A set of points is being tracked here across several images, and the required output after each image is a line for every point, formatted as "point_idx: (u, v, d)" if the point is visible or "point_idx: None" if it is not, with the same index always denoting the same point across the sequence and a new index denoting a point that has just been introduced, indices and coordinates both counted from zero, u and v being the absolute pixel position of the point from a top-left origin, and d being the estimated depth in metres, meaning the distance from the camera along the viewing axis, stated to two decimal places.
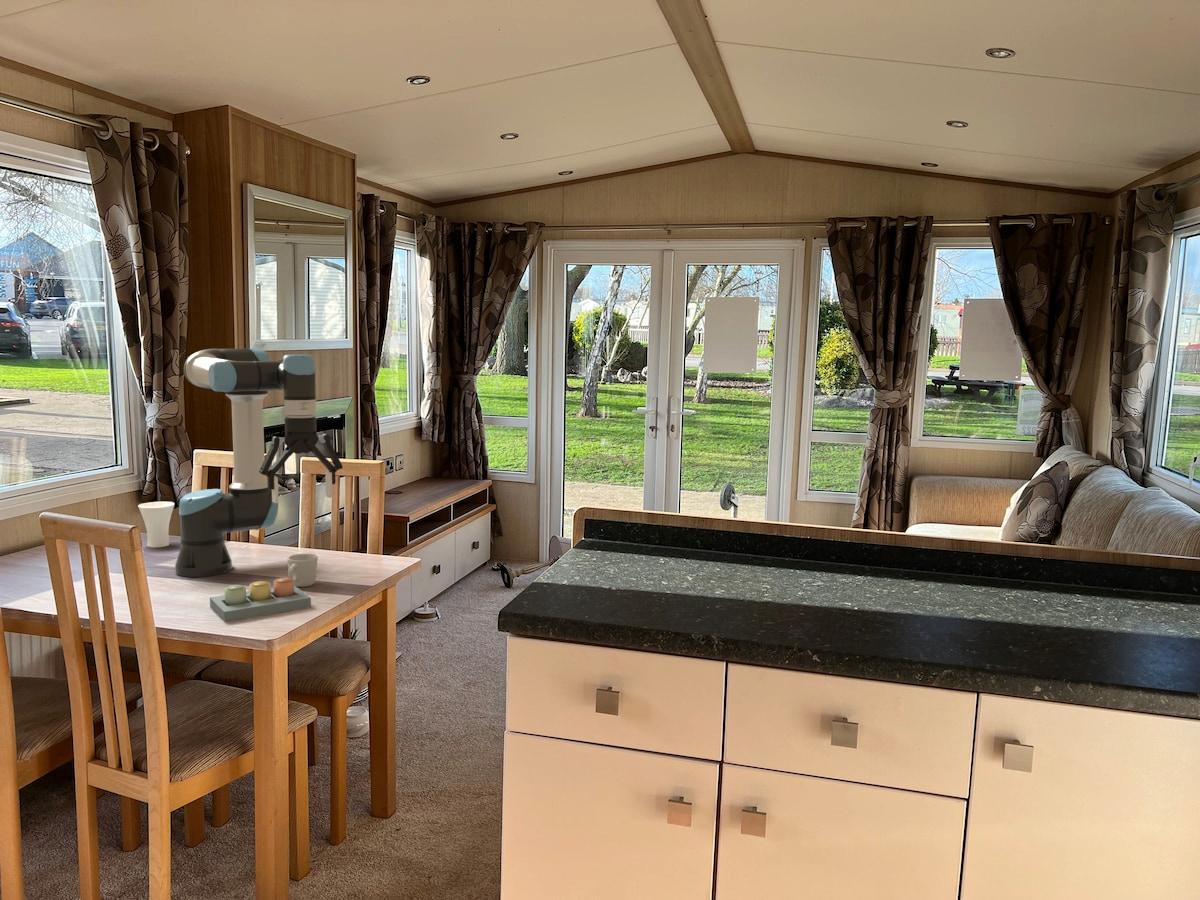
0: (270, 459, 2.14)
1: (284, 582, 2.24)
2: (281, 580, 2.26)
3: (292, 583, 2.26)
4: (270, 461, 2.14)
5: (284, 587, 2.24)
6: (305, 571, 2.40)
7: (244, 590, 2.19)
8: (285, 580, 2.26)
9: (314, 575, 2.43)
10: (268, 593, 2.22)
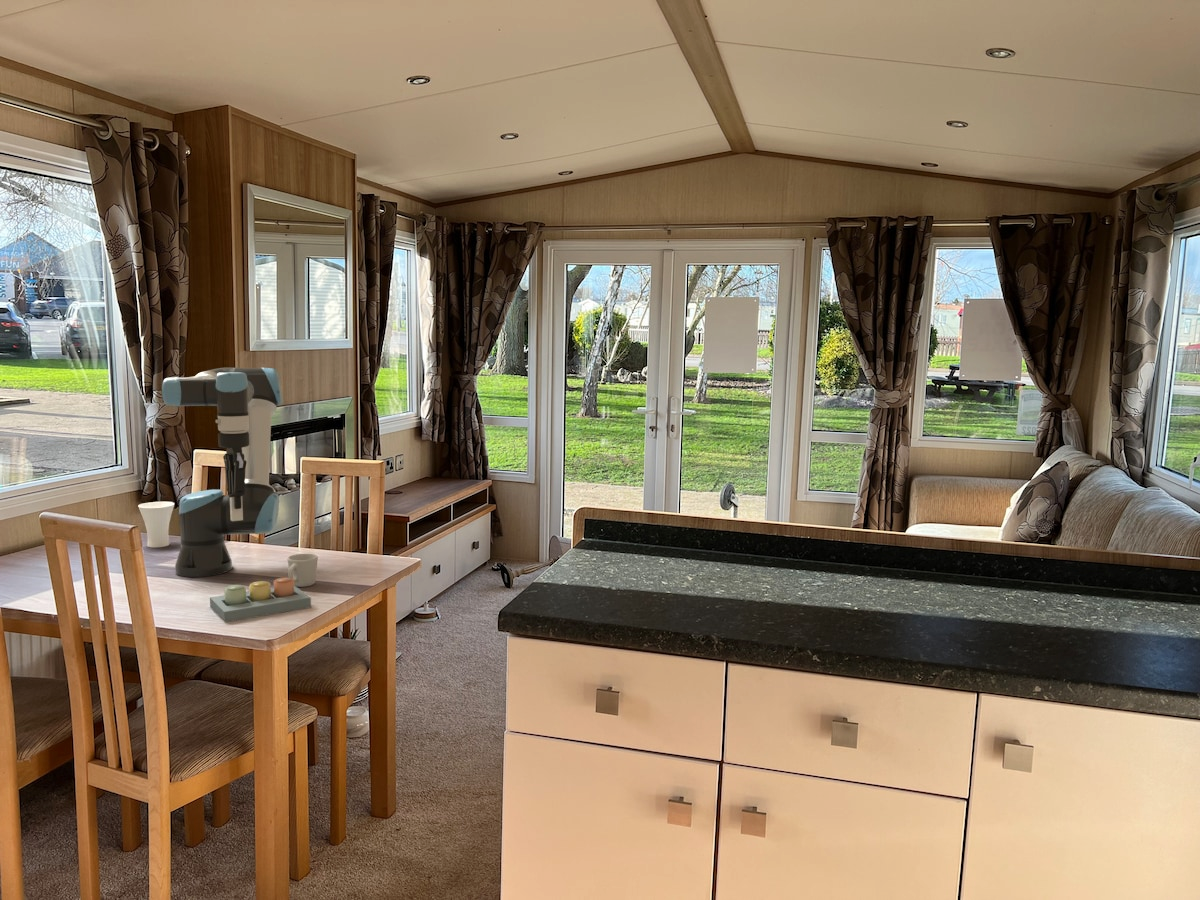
0: (226, 476, 2.32)
1: (284, 582, 2.24)
2: (281, 580, 2.26)
3: (292, 583, 2.26)
4: (226, 478, 2.32)
5: (284, 587, 2.24)
6: (305, 571, 2.40)
7: (244, 590, 2.19)
8: (285, 580, 2.26)
9: (314, 575, 2.43)
10: (268, 593, 2.22)
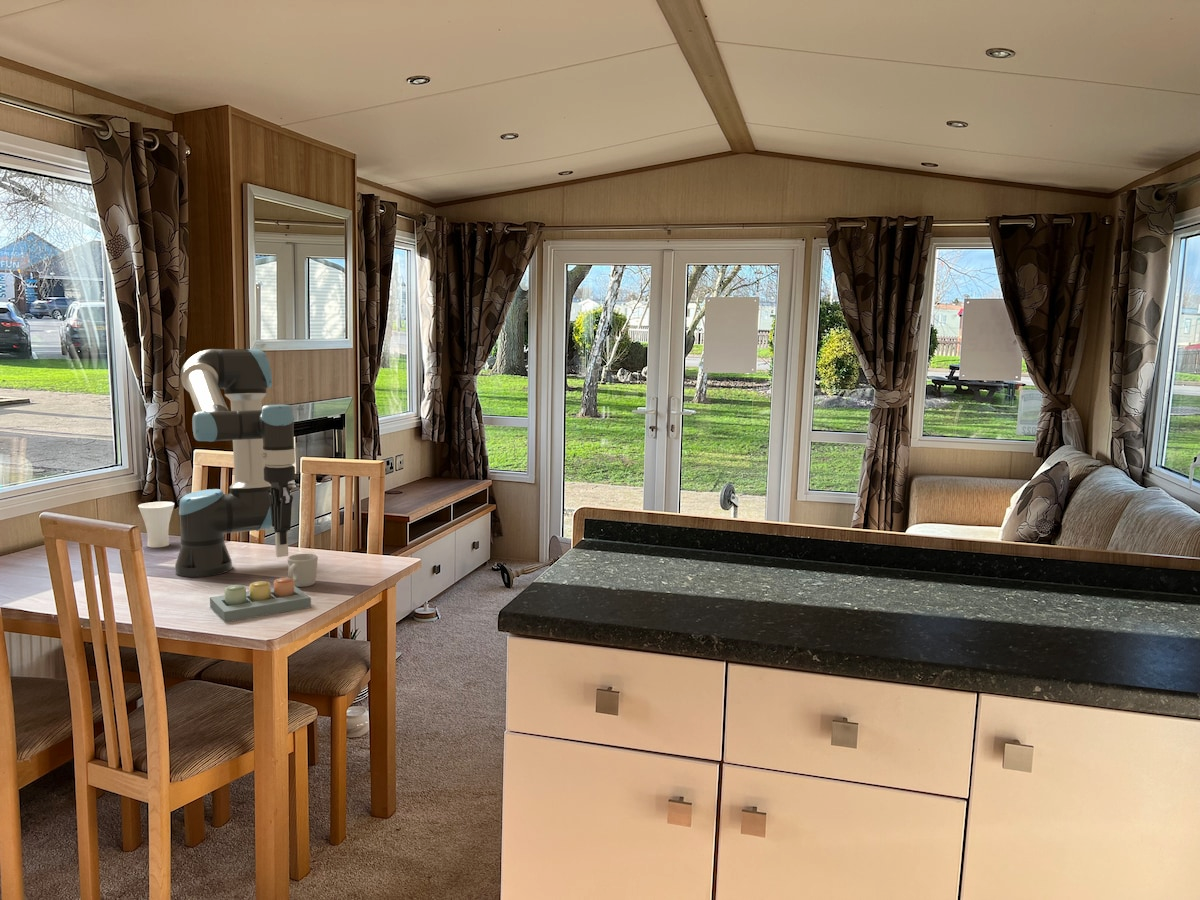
0: (271, 511, 2.26)
1: (284, 582, 2.24)
2: (281, 580, 2.26)
3: (292, 583, 2.26)
4: (271, 512, 2.26)
5: (284, 587, 2.24)
6: (305, 571, 2.40)
7: (244, 590, 2.19)
8: (285, 580, 2.26)
9: (314, 575, 2.43)
10: (268, 593, 2.22)
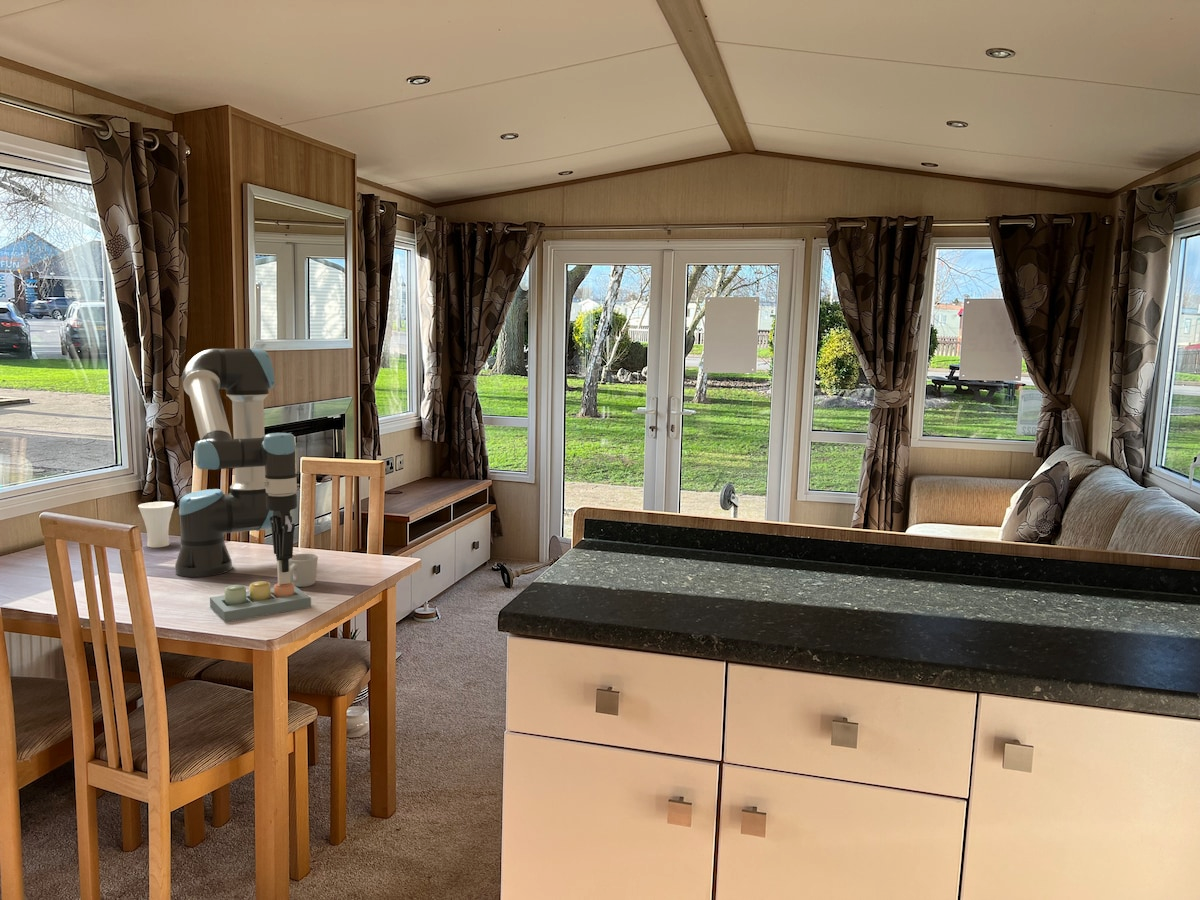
0: (273, 538, 2.27)
1: (284, 586, 2.25)
2: (281, 584, 2.26)
3: (292, 587, 2.26)
4: (273, 540, 2.27)
5: (284, 592, 2.24)
6: (305, 571, 2.40)
7: (244, 590, 2.19)
8: (285, 584, 2.26)
9: (314, 575, 2.43)
10: (268, 593, 2.22)
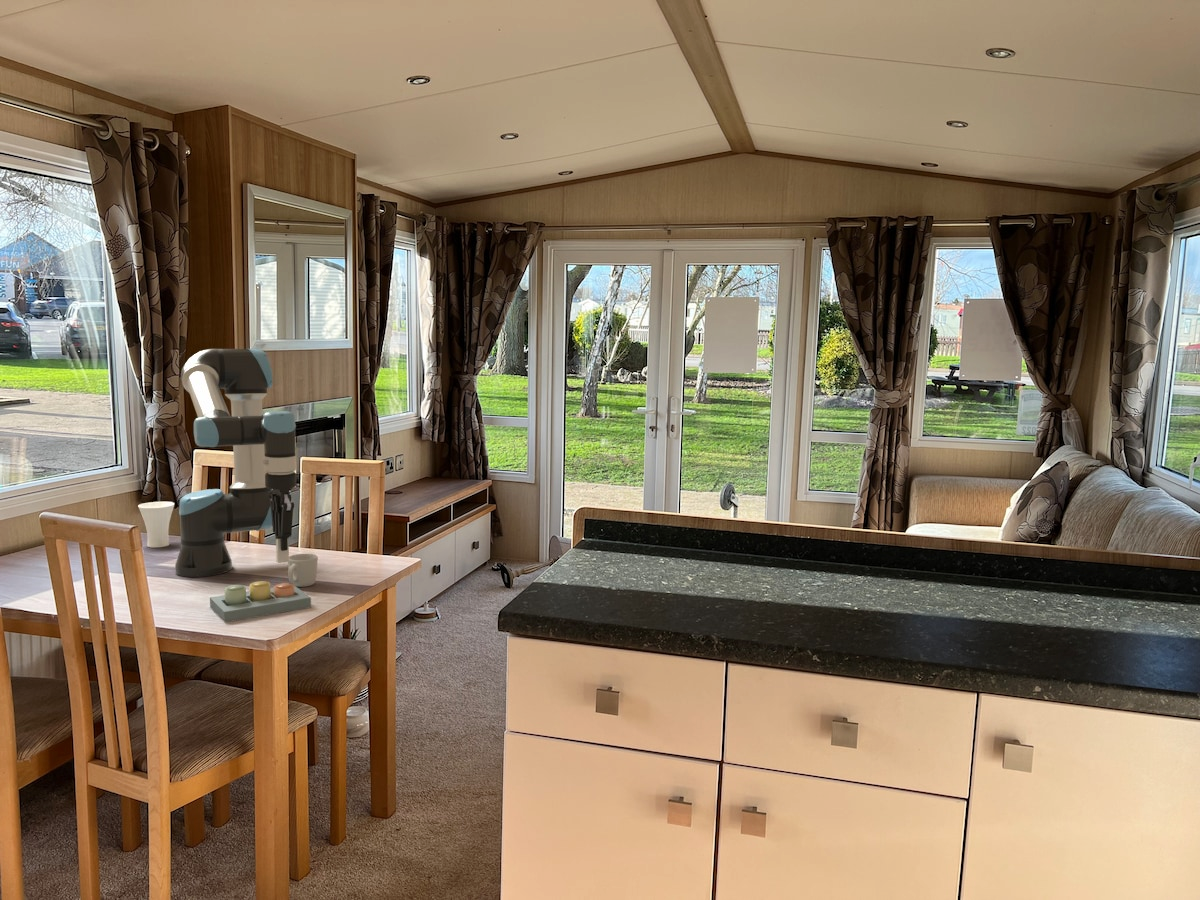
0: (272, 516, 2.27)
1: (284, 588, 2.25)
2: (281, 586, 2.26)
3: (292, 589, 2.26)
4: (272, 518, 2.26)
5: (284, 593, 2.24)
6: (305, 571, 2.40)
7: (244, 590, 2.19)
8: (285, 586, 2.26)
9: (314, 575, 2.43)
10: (268, 593, 2.22)
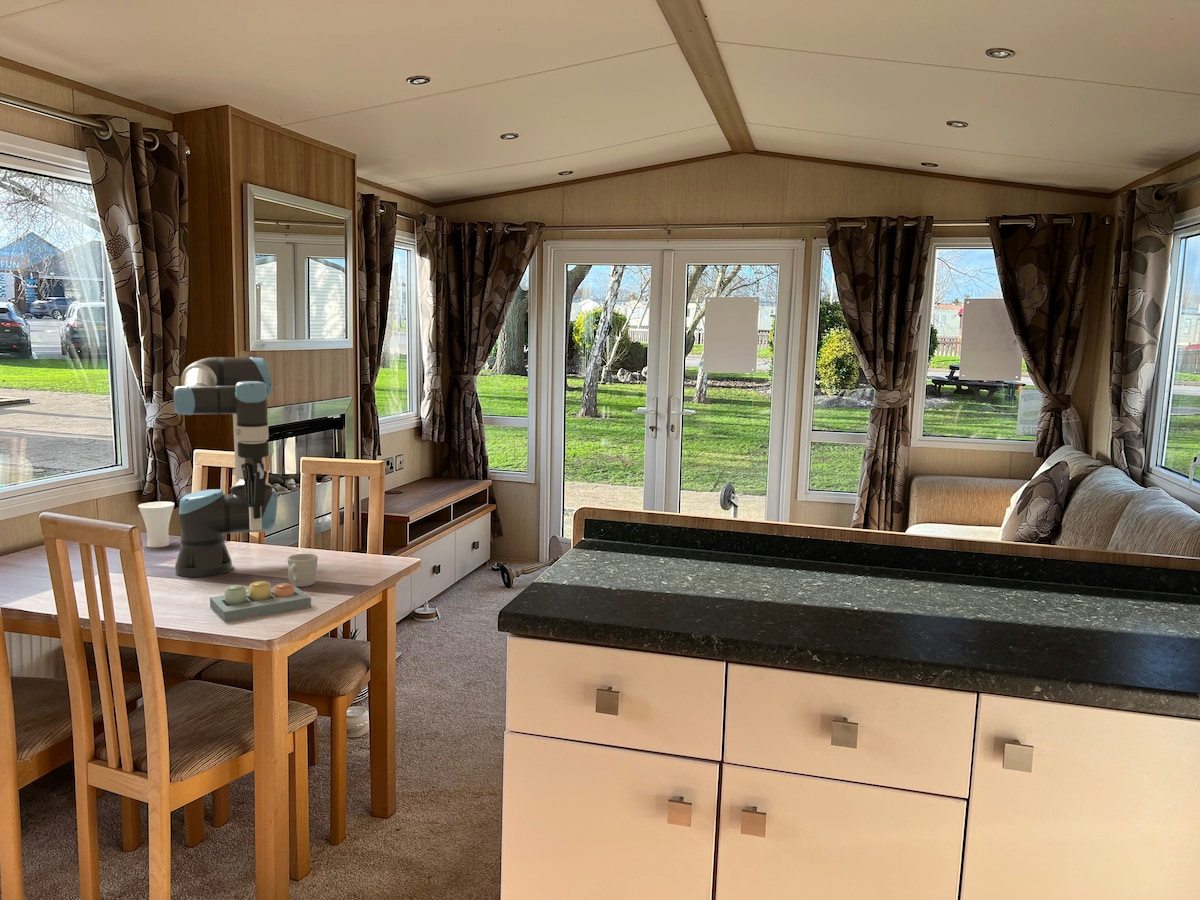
0: (244, 485, 2.30)
1: (284, 588, 2.25)
2: (281, 586, 2.26)
3: (292, 589, 2.26)
4: (245, 487, 2.30)
5: (284, 593, 2.24)
6: (305, 571, 2.40)
7: (244, 590, 2.19)
8: (285, 586, 2.26)
9: (314, 575, 2.43)
10: (268, 593, 2.22)
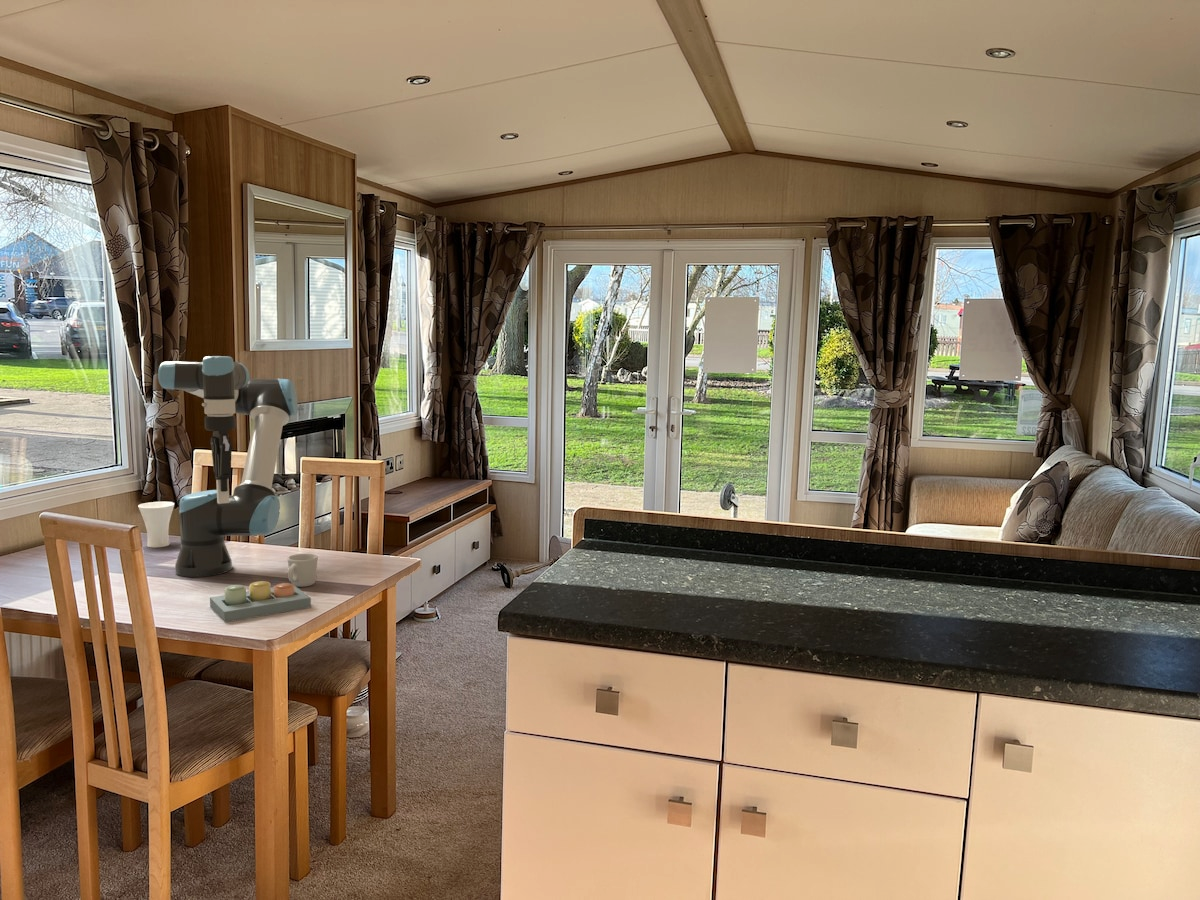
0: (213, 459, 2.34)
1: (284, 588, 2.25)
2: (281, 586, 2.26)
3: (292, 589, 2.26)
4: (213, 461, 2.34)
5: (284, 593, 2.24)
6: (305, 571, 2.40)
7: (244, 590, 2.19)
8: (285, 586, 2.26)
9: (314, 575, 2.43)
10: (268, 593, 2.22)
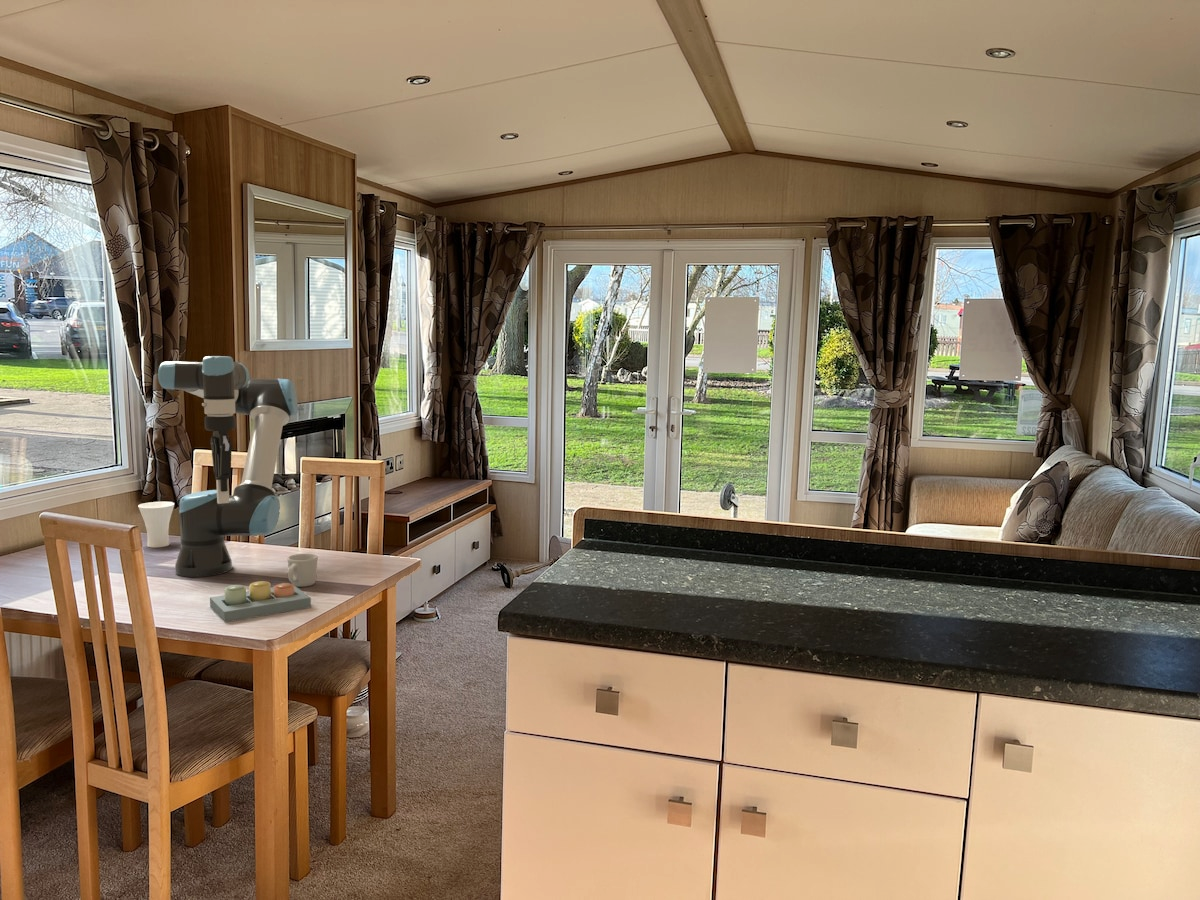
0: (213, 459, 2.34)
1: (284, 588, 2.25)
2: (281, 586, 2.26)
3: (292, 589, 2.26)
4: (213, 461, 2.34)
5: (284, 593, 2.24)
6: (305, 571, 2.40)
7: (244, 590, 2.19)
8: (285, 586, 2.26)
9: (314, 575, 2.43)
10: (268, 593, 2.22)
